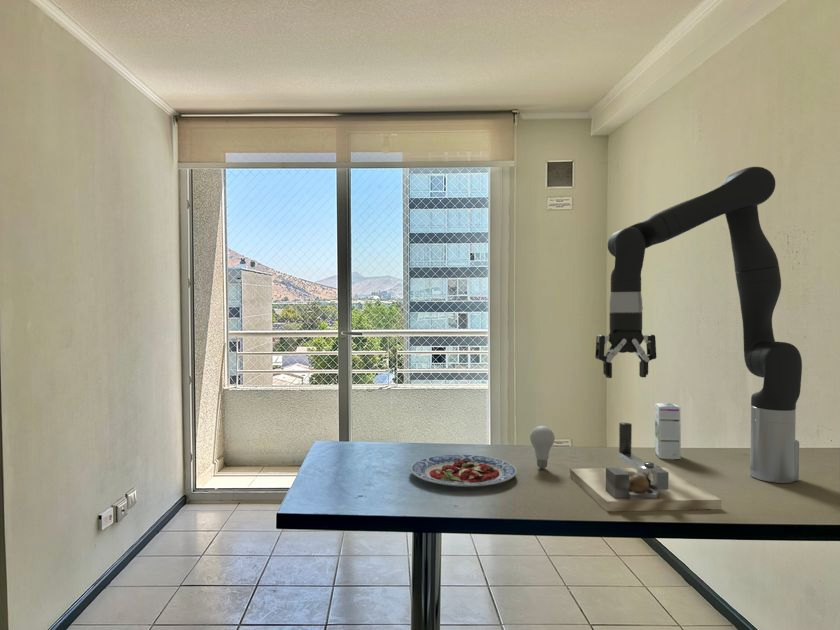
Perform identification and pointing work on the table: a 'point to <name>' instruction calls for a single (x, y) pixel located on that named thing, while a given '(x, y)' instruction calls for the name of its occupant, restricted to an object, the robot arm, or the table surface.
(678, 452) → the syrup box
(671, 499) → the base
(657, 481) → the lever
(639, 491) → the walnut
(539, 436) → the lightbulb
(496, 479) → the ceramic plate
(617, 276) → the robot arm
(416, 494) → the table surface
